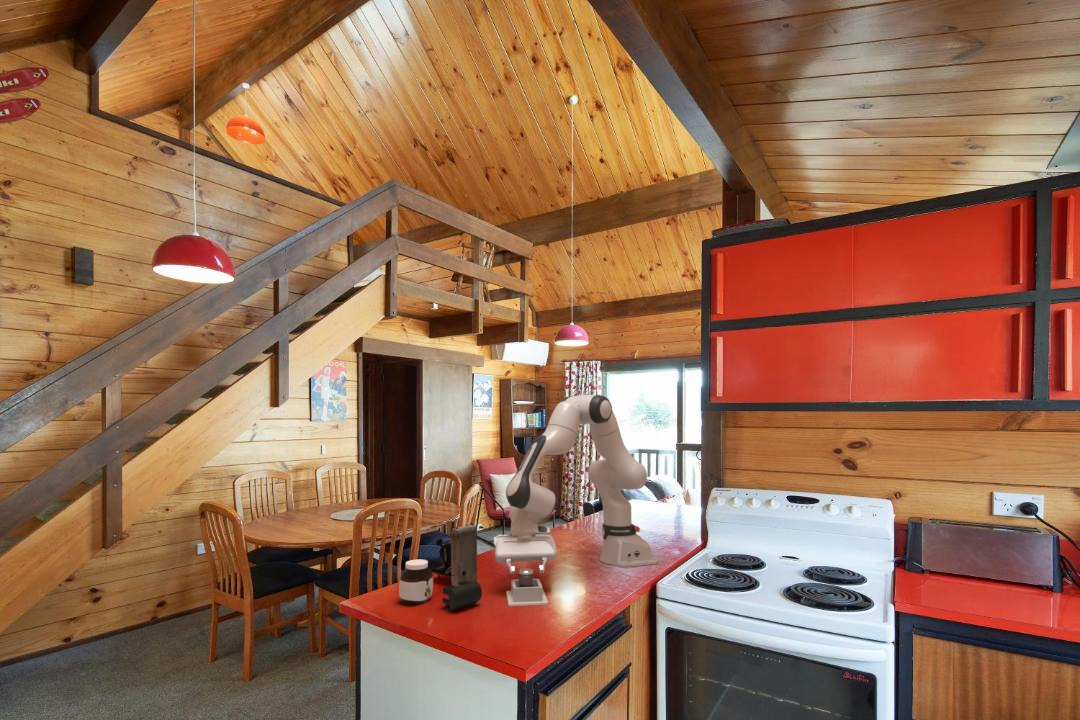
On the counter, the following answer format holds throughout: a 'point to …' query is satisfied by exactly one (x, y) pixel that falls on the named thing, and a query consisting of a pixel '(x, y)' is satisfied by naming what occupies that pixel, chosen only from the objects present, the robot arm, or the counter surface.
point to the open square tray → (526, 594)
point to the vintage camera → (459, 555)
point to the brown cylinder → (526, 577)
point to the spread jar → (416, 582)
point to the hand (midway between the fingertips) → (527, 572)
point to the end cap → (461, 595)
